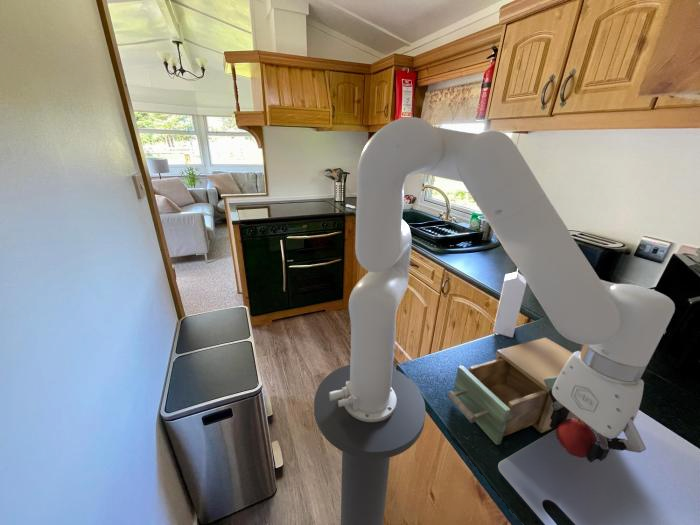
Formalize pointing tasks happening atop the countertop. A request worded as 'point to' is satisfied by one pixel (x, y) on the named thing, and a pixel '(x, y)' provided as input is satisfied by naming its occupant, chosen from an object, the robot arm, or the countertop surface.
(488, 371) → the drawer
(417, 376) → the countertop surface
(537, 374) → the cabinet
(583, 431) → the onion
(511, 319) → the milk
